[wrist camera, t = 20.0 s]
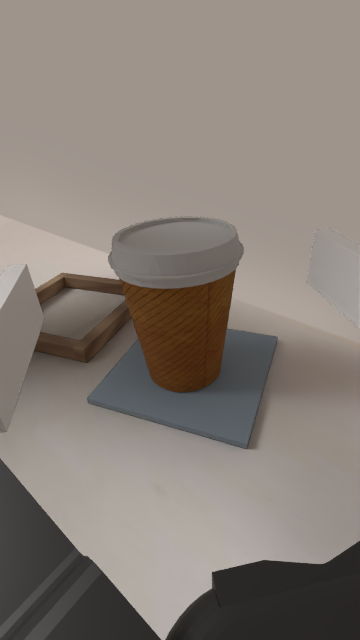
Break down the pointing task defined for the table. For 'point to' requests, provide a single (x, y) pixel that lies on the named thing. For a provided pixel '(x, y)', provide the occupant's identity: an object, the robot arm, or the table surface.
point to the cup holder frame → (99, 334)
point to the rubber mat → (201, 405)
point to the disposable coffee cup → (179, 294)
